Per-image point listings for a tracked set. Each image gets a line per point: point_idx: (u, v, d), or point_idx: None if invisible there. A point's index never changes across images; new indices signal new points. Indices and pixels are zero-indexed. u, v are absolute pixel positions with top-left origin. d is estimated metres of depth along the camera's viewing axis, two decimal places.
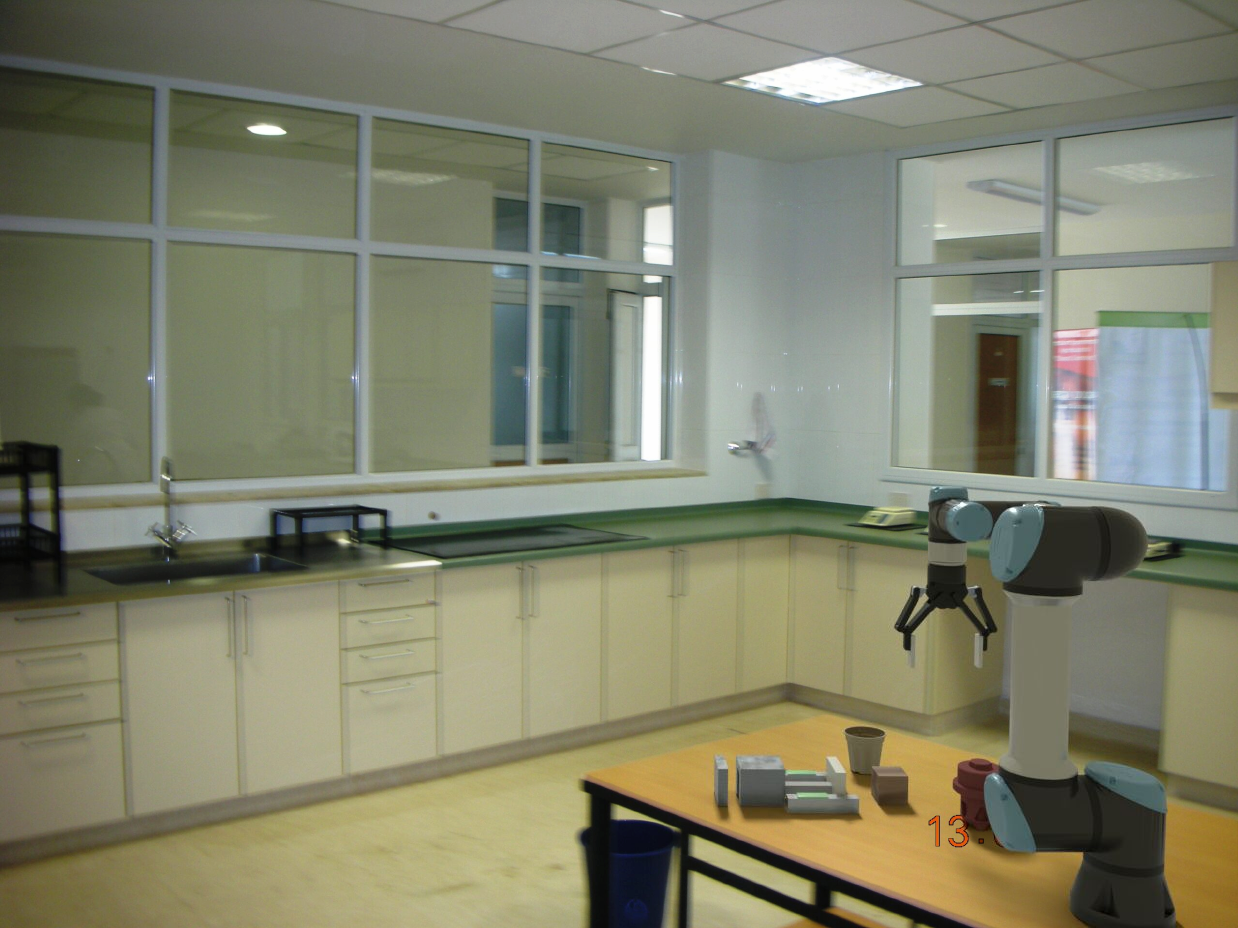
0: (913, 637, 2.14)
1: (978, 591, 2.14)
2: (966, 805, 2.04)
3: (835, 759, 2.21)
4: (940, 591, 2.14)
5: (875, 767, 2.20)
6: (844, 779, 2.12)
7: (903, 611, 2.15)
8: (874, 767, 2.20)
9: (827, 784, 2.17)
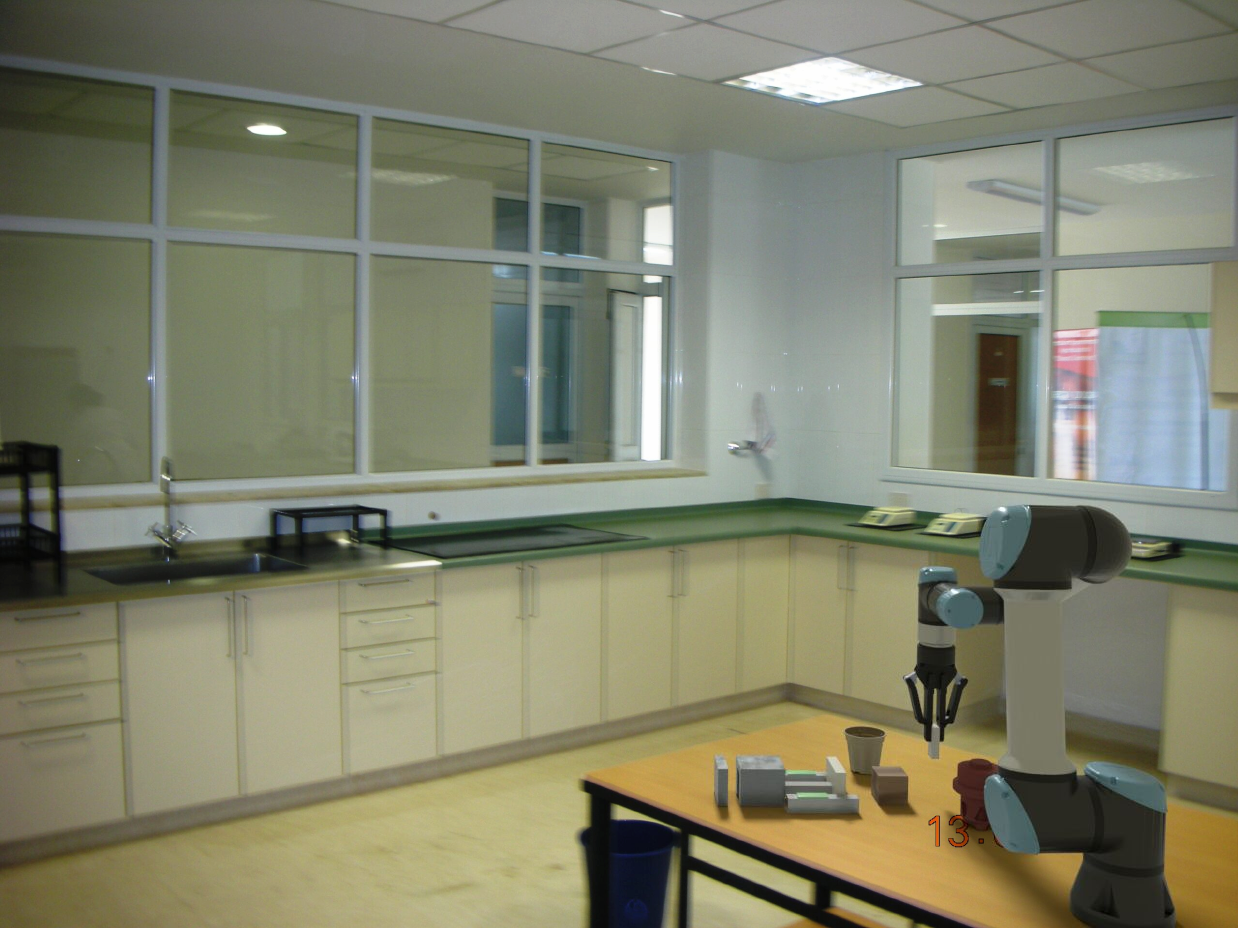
0: (934, 729, 2.16)
1: (964, 681, 2.15)
2: (966, 805, 2.04)
3: (835, 759, 2.21)
4: (927, 673, 2.15)
5: (875, 767, 2.20)
6: (844, 779, 2.12)
7: (912, 703, 2.17)
8: (874, 767, 2.20)
9: (827, 784, 2.17)
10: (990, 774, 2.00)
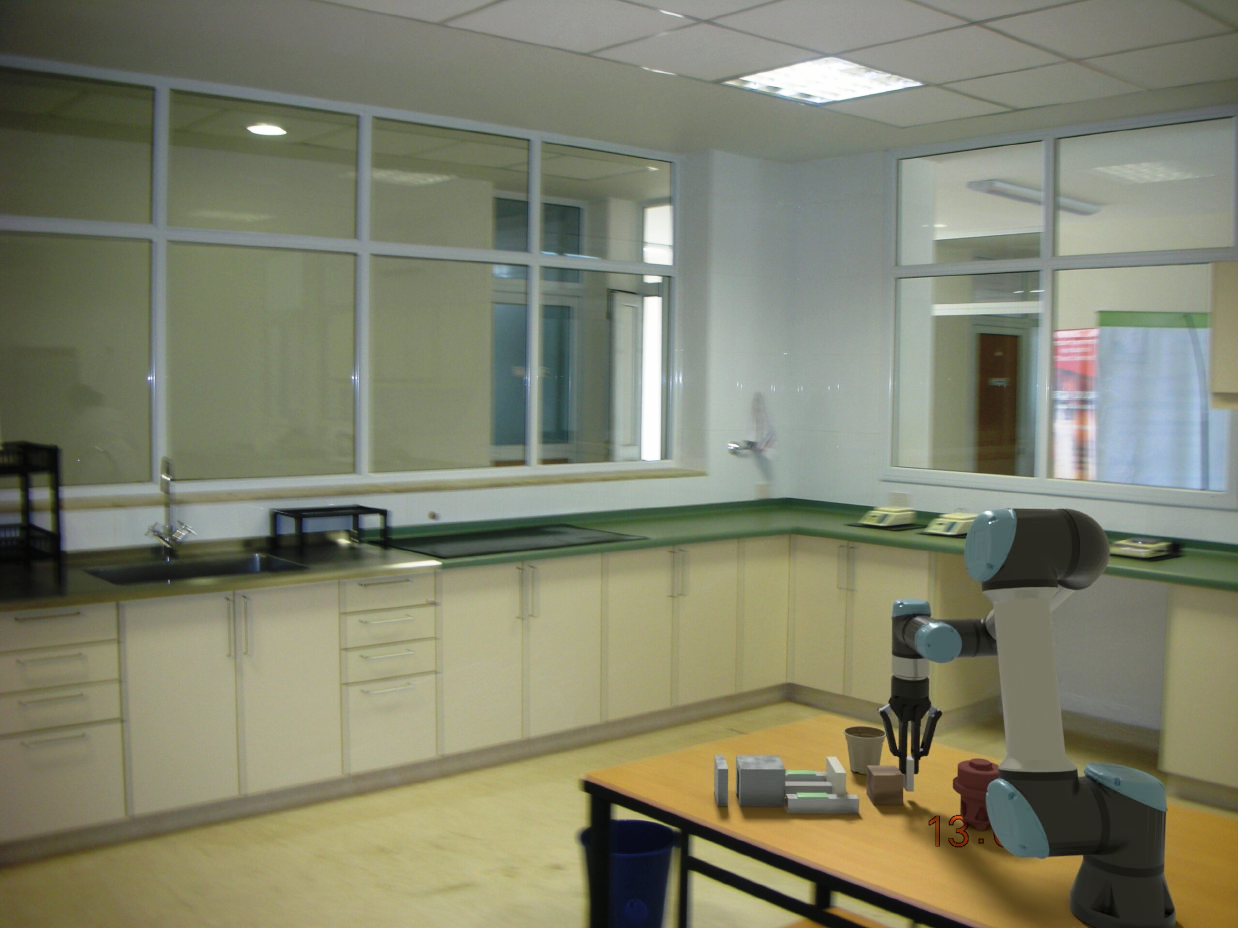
0: (908, 761, 2.16)
1: (938, 714, 2.16)
2: (966, 805, 2.04)
3: (835, 759, 2.21)
4: (901, 706, 2.16)
5: (871, 766, 2.20)
6: (844, 779, 2.12)
7: (887, 735, 2.17)
8: (869, 766, 2.20)
9: (827, 784, 2.17)
10: (990, 774, 2.00)
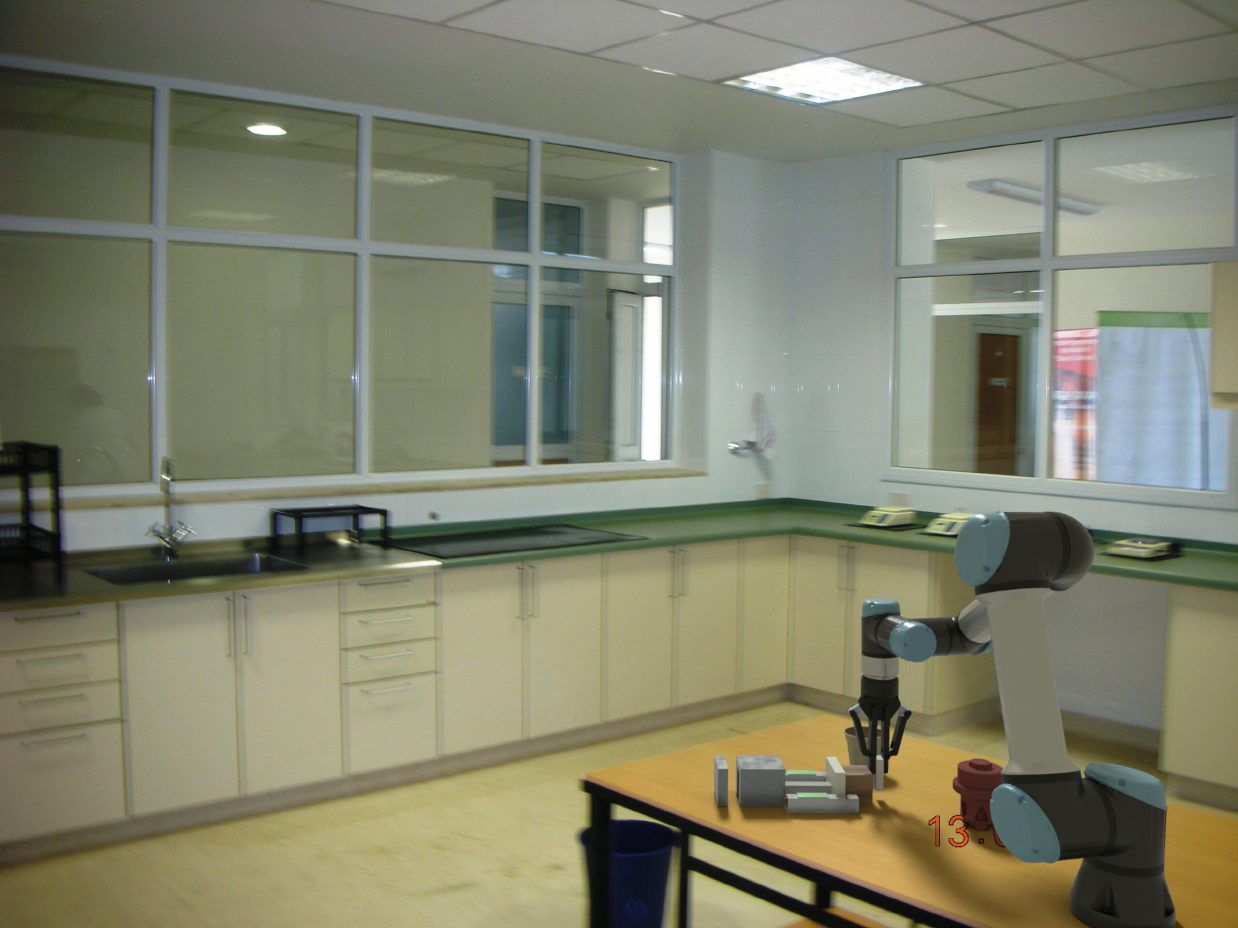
0: (878, 761, 2.16)
1: (907, 713, 2.16)
2: (966, 805, 2.04)
3: (834, 759, 2.21)
4: (871, 705, 2.16)
5: (841, 765, 2.20)
6: (843, 779, 2.12)
7: (856, 735, 2.17)
8: None
9: (826, 784, 2.17)
10: (990, 774, 2.00)
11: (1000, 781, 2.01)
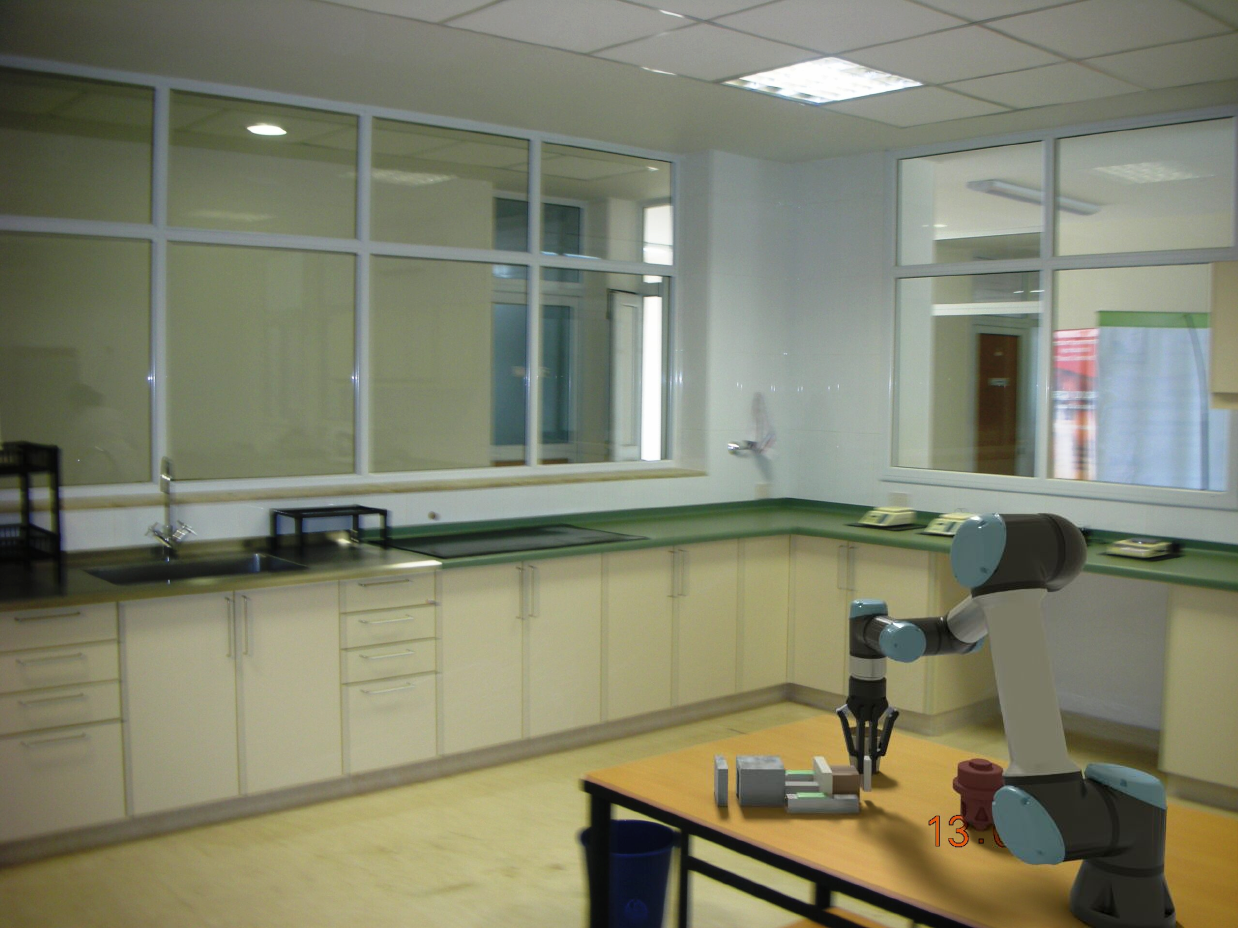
0: (866, 761, 2.16)
1: (895, 714, 2.16)
2: (966, 805, 2.04)
3: (822, 759, 2.21)
4: (858, 706, 2.16)
5: None
6: (830, 779, 2.12)
7: (844, 735, 2.17)
8: None
9: (814, 784, 2.17)
10: (990, 774, 2.00)
11: (1000, 781, 2.01)
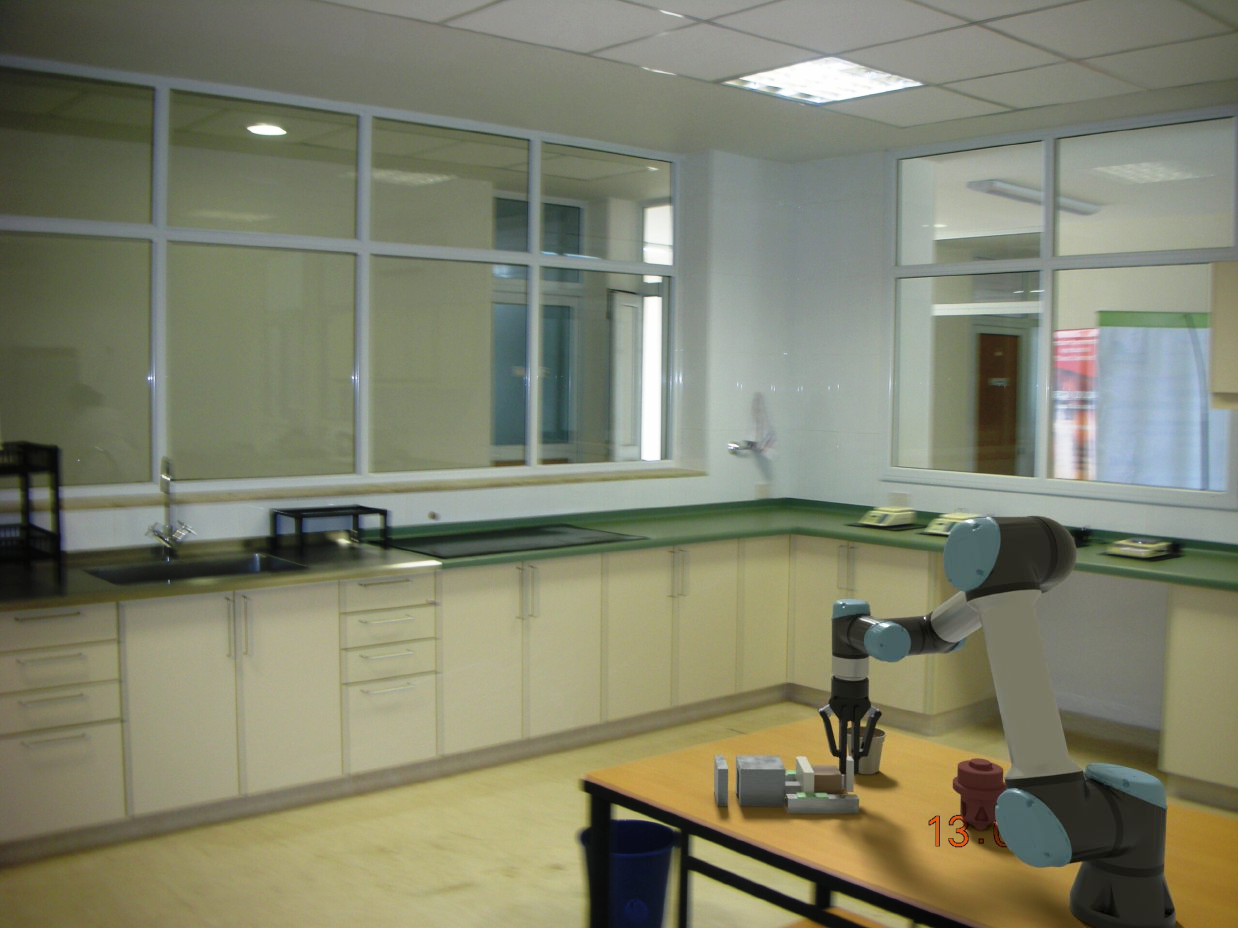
0: (848, 761, 2.16)
1: (877, 714, 2.16)
2: (966, 805, 2.04)
3: (804, 759, 2.21)
4: (841, 706, 2.16)
5: (811, 765, 2.20)
6: (812, 779, 2.12)
7: (827, 736, 2.17)
8: None
9: (796, 784, 2.17)
10: (990, 774, 2.00)
11: (1000, 781, 2.01)
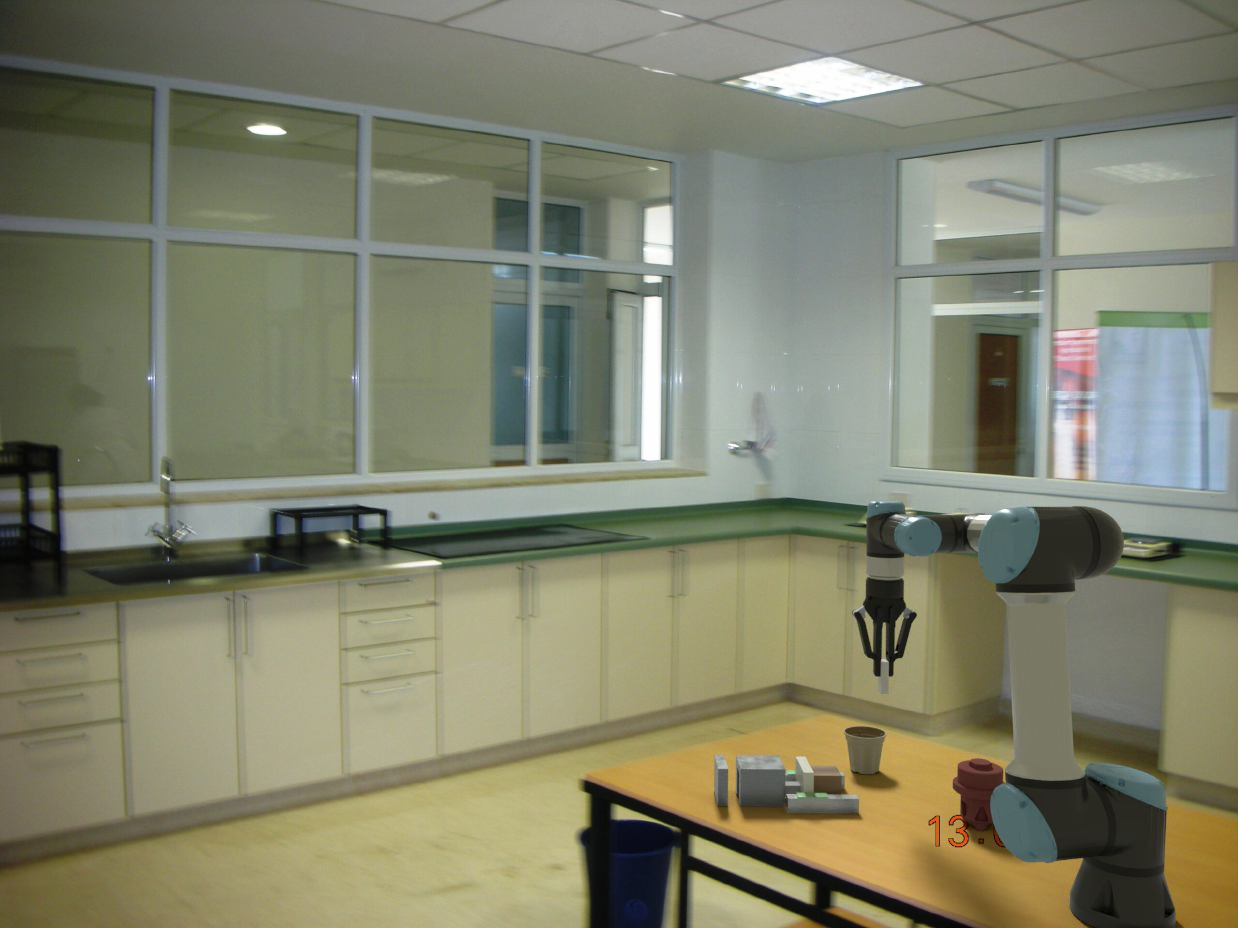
0: (883, 663, 2.15)
1: (912, 615, 2.14)
2: (966, 805, 2.04)
3: (804, 759, 2.21)
4: (876, 607, 2.14)
5: (811, 766, 2.20)
6: (812, 779, 2.12)
7: (861, 638, 2.16)
8: None
9: (795, 784, 2.17)
10: (990, 774, 2.00)
11: (1000, 781, 2.01)
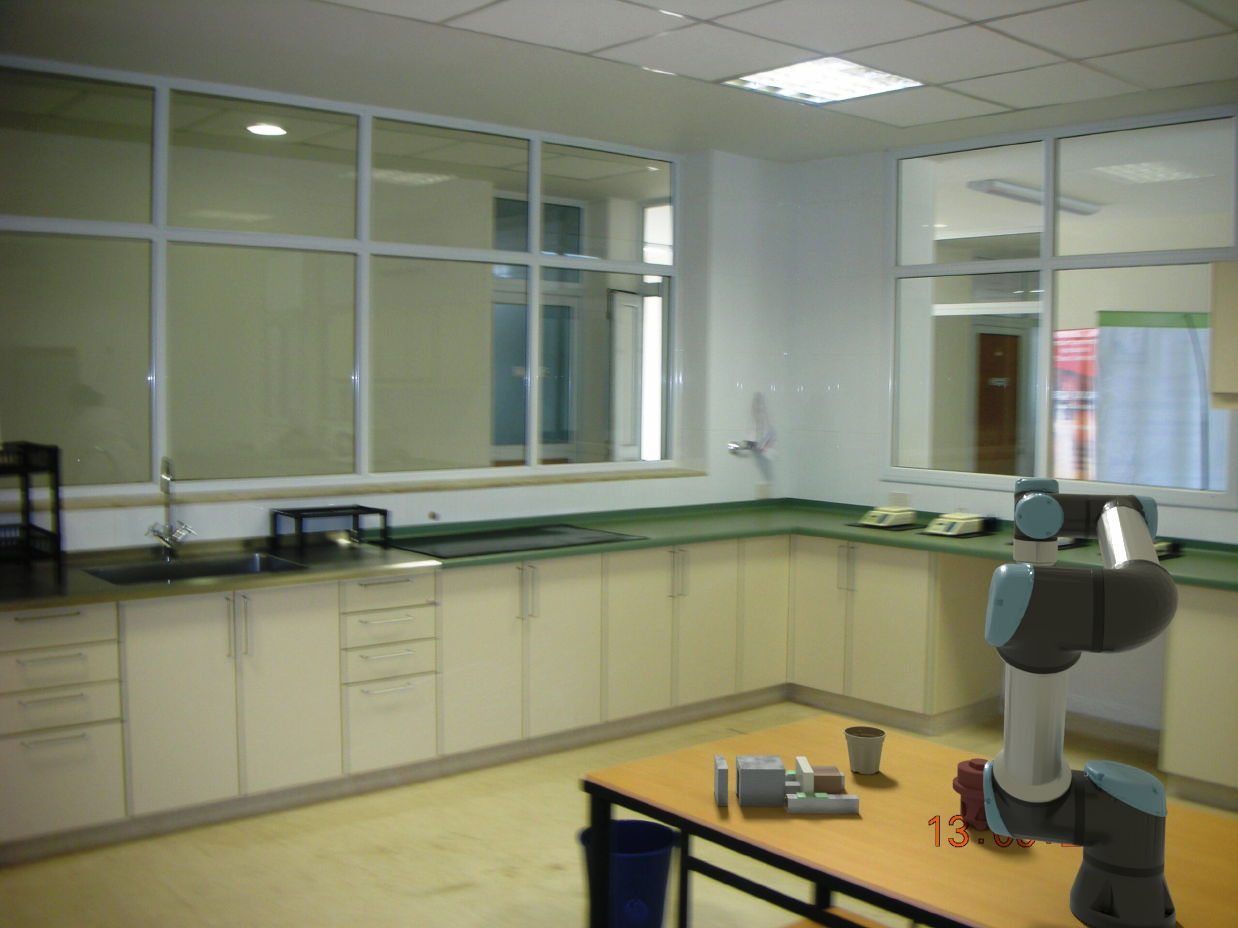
0: None
1: None
2: (966, 805, 2.04)
3: (804, 759, 2.21)
4: None
5: (811, 766, 2.20)
6: (812, 779, 2.12)
7: None
8: None
9: (795, 784, 2.17)
10: None
11: None
